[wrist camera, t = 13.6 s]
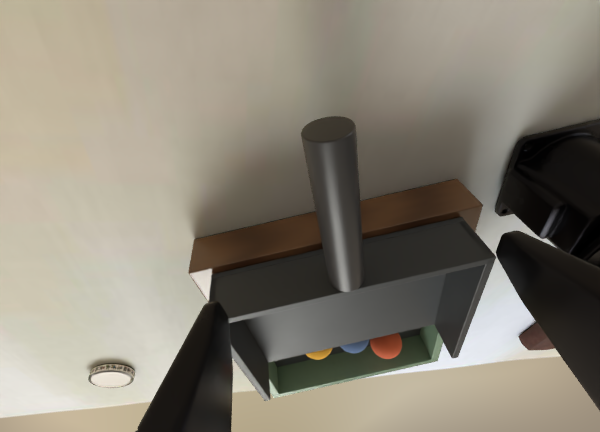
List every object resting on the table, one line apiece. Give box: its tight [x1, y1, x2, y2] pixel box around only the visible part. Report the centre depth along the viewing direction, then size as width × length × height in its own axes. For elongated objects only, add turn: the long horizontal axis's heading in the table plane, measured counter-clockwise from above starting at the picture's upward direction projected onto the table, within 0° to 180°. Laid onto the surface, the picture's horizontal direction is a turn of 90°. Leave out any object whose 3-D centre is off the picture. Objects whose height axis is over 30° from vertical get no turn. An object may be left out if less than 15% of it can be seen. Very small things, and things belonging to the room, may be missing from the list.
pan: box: [209, 116, 496, 401], centre depth 19 cm, size 22×16×4 cm
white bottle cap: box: [88, 364, 135, 388], centre depth 30 cm, size 4×4×1 cm
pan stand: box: [189, 179, 483, 302], centre depth 24 cm, size 19×13×3 cm
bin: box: [268, 325, 443, 398], centre depth 31 cm, size 19×10×3 cm, turn 100°
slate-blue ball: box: [340, 340, 369, 353], centre depth 29 cm, size 3×3×3 cm
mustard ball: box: [306, 348, 333, 360], centre depth 29 cm, size 3×3×3 cm
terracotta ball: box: [370, 333, 402, 359], centre depth 31 cm, size 3×3×3 cm
